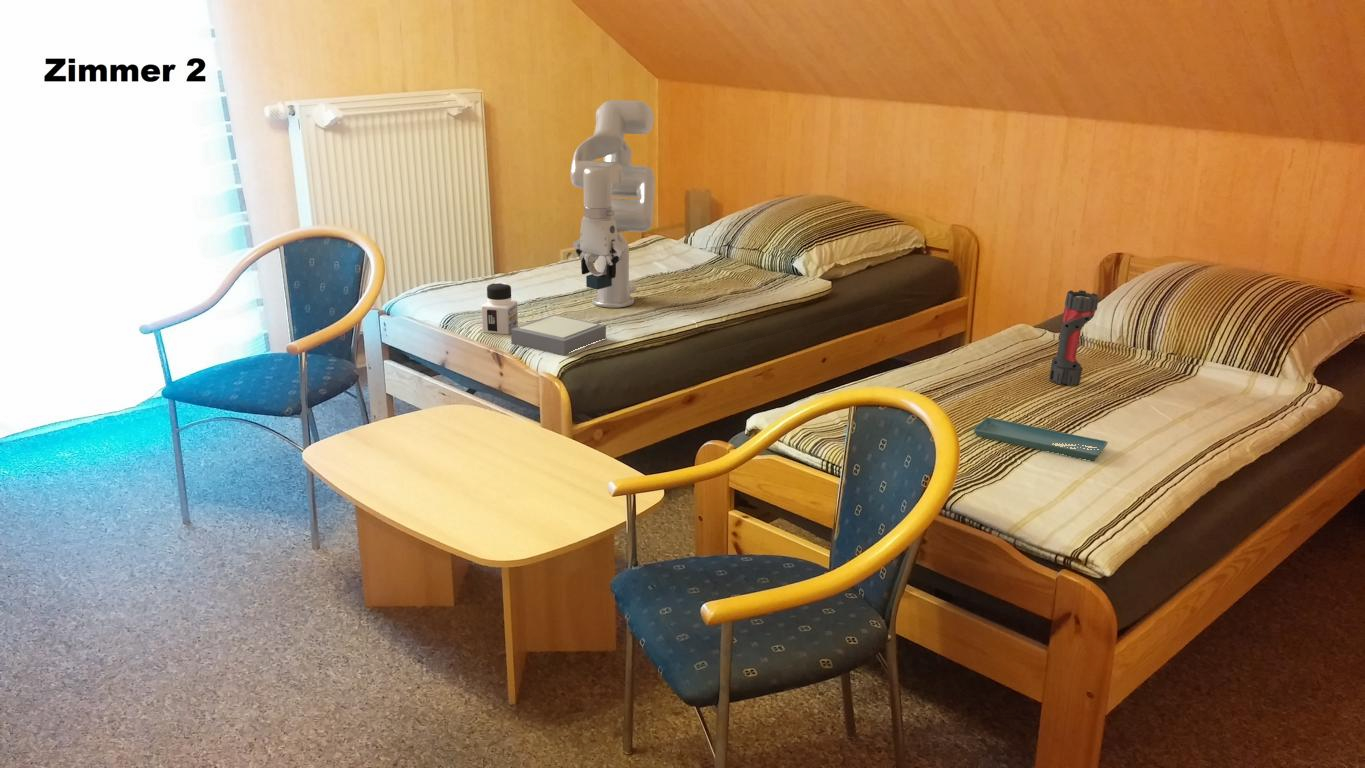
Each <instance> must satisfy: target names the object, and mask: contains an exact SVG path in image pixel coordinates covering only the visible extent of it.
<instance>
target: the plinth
mask: <svg viewBox="0 0 1365 768" xmlns="http://www.w3.org/2000/svg"><path fill="white" fill-rule="evenodd" d="M605 338H606V339H607V326H606V324H601V323H595V322H593V321H592V322H591V321H586V320H581V319H577V318H573V317H568V316H567V317H566V316H562V315H558V314H551V315H549V316H546V317H543V318H539V319H536V320H533V321H532V322H529V323H528V322H527V323H525V324H522V325H518V327H516V328H513V329H511V333H510V339H511V340H510V341H511V343H510V344H511V345H516V346H520V347H524V348H529V349H534V350H538V351H542V352H547V353H551V354H553V355H554V354H555V355H559V356H563V357H566V356H567V355H566V354H568V353H569V352H571V351H573V350H575V349H578V348H580V347H583V346H586V345H588V344H591V343H593V342H596V341H599V340H602V339H605ZM568 355H569V354H568Z"/></svg>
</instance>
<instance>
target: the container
mask: <svg viewBox="0 0 1365 768" xmlns="http://www.w3.org/2000/svg"><path fill="white" fill-rule="evenodd" d="M486 301H487V302H485V303H483V304H481V325H482V326H481V327H482V333H484V334H485V333H487V334H498V335H511V329H513V328H516V327H519V321H518V320H519V319H518V317H519V315H518V313H519V312H518V301H517V300H512V286H511V285H510V284H508V283H505V282H494V283H490V284H488V285H487V287H486Z"/></svg>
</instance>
